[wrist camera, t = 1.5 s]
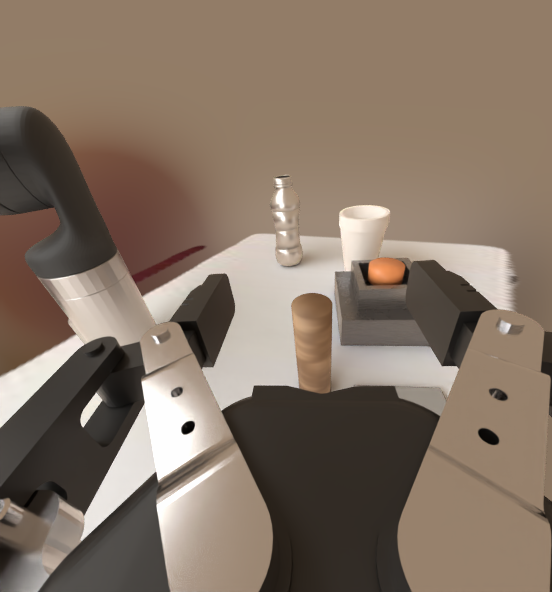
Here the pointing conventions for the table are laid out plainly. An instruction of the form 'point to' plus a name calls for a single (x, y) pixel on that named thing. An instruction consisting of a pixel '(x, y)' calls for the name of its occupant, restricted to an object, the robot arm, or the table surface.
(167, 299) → the table surface
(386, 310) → the grey button housing
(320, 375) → the stick
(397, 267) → the breaker button
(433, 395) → the mat
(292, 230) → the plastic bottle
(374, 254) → the foam cup
